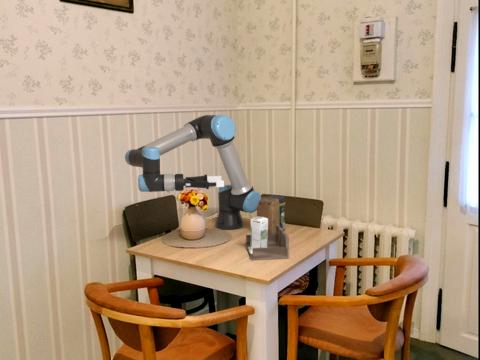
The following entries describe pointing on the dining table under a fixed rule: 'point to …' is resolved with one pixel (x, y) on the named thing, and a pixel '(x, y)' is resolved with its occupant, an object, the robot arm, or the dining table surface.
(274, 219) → the block
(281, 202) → the coffee jar
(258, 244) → the syrup box
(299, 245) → the dining table surface
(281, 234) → the bay
